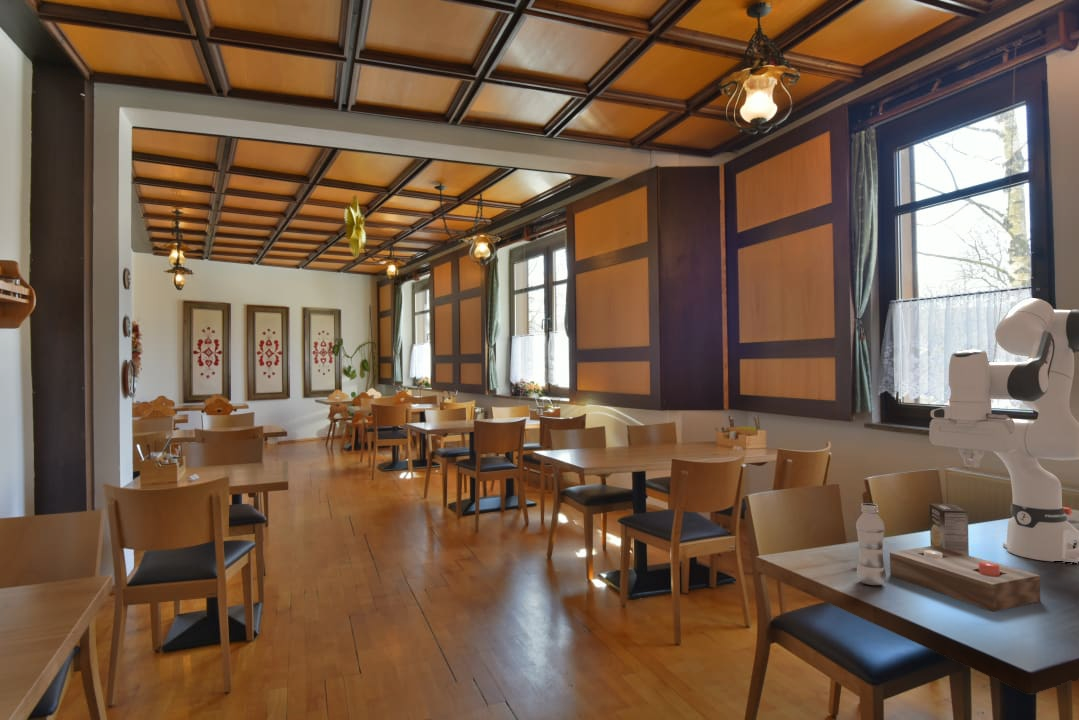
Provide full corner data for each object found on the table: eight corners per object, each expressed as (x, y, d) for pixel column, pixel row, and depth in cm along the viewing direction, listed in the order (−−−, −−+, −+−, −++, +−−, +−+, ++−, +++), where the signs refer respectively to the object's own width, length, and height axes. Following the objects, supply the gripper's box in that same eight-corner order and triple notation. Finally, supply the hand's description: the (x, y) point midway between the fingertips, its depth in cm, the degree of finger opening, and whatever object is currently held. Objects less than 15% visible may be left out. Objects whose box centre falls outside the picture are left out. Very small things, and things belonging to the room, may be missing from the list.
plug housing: (934, 567, 165) (933, 545, 165) (1040, 601, 140) (1039, 575, 140) (890, 575, 159) (889, 552, 159) (993, 611, 135) (992, 584, 135)
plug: (932, 574, 159) (931, 549, 159) (946, 579, 155) (946, 553, 155) (921, 576, 158) (920, 551, 158) (935, 581, 154) (934, 555, 154)
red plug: (986, 588, 146) (986, 560, 146) (1004, 593, 142) (1003, 565, 142) (975, 590, 144) (974, 562, 145) (992, 596, 141) (991, 568, 141)
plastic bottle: (850, 581, 155) (849, 503, 155) (869, 578, 157) (867, 501, 158) (873, 590, 149) (871, 508, 149) (892, 585, 152) (890, 506, 152)
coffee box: (929, 559, 172) (928, 502, 172) (954, 560, 171) (953, 503, 171) (944, 570, 163) (942, 510, 163) (970, 571, 162) (969, 511, 162)
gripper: (1022, 414, 146) (1024, 471, 146) (941, 410, 166) (942, 460, 165) (1004, 415, 144) (1006, 473, 144) (924, 410, 164) (926, 462, 163)
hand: (971, 466), depth 155 cm, fingers closed
